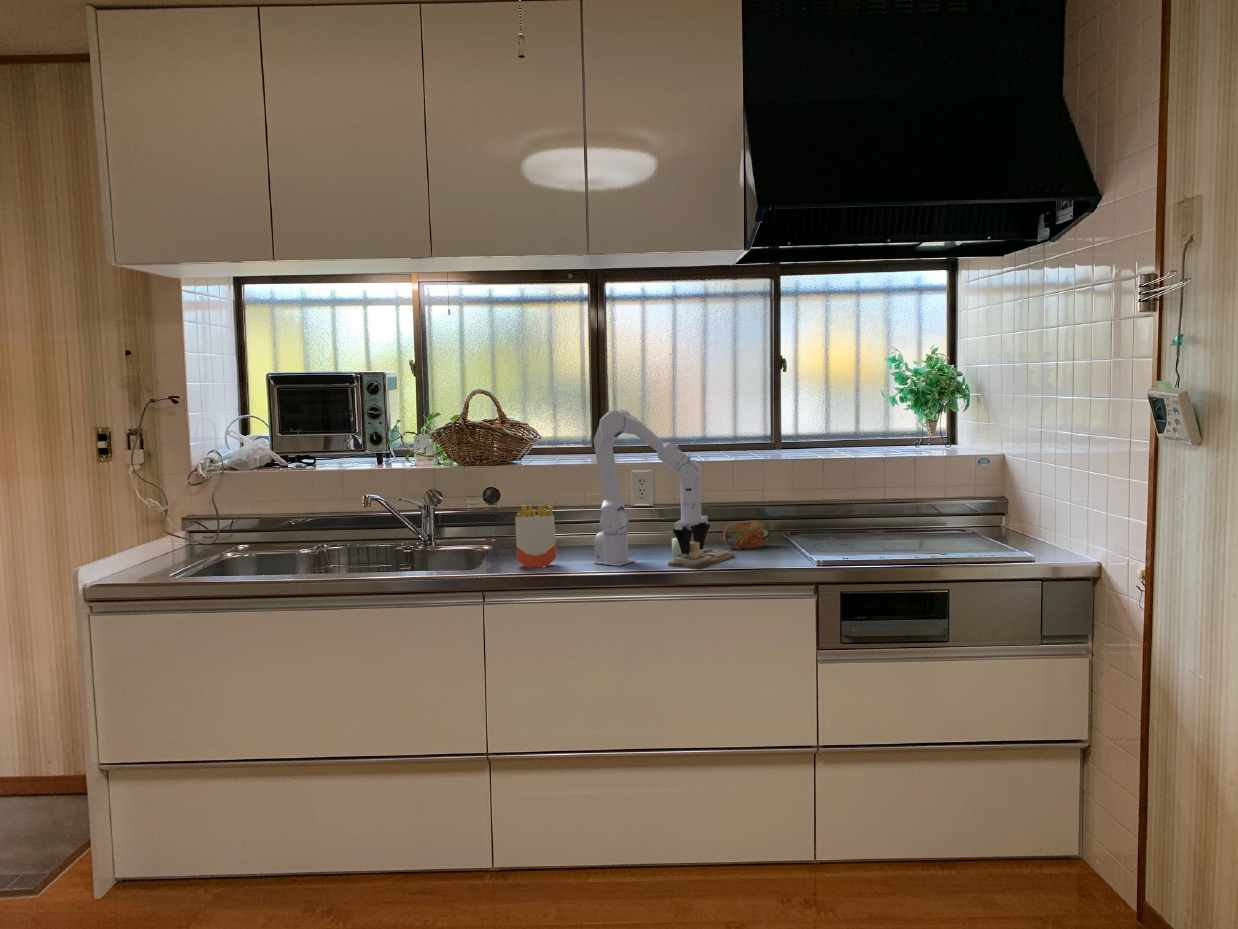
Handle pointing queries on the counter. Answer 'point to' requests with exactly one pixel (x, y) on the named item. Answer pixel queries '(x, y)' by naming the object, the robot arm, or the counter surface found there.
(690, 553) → the ash peg
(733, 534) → the tin
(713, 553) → the board
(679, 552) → the sage peg
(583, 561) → the counter surface
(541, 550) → the french fries container
